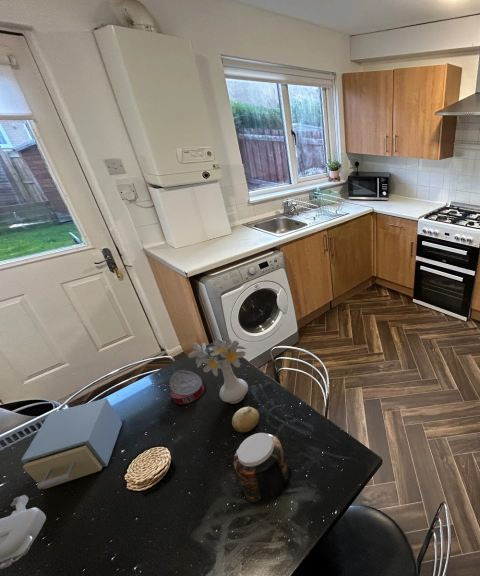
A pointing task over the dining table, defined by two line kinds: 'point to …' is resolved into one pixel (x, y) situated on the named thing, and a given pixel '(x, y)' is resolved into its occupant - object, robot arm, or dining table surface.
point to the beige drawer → (62, 466)
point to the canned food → (185, 386)
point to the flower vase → (223, 367)
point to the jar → (261, 467)
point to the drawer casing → (78, 431)
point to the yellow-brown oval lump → (245, 419)
